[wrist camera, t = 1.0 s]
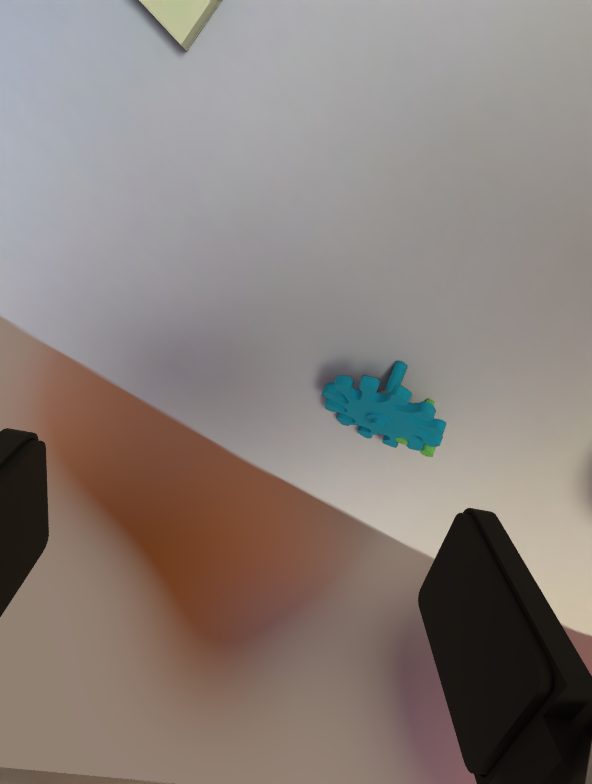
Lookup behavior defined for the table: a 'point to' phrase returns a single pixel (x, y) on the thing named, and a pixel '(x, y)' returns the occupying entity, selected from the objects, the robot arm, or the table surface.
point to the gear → (386, 411)
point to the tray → (182, 17)
